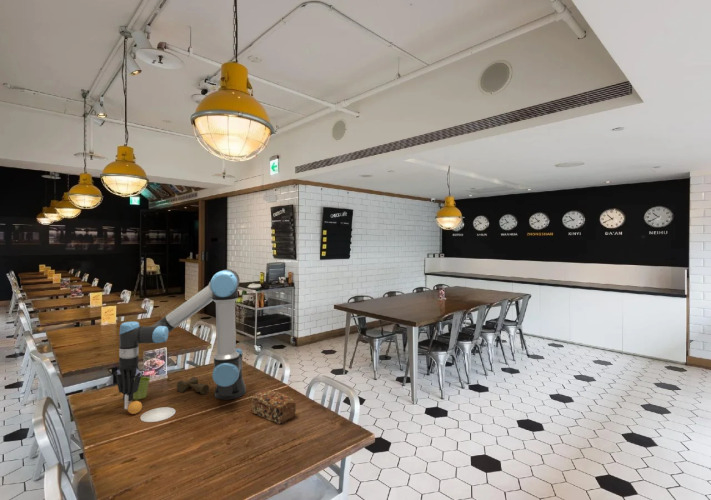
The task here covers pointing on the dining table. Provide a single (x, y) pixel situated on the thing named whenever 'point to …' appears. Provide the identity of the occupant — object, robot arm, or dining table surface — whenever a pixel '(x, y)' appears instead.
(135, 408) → the ball
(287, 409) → the bread
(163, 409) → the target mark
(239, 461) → the dining table surface
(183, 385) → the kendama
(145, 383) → the plant pot
